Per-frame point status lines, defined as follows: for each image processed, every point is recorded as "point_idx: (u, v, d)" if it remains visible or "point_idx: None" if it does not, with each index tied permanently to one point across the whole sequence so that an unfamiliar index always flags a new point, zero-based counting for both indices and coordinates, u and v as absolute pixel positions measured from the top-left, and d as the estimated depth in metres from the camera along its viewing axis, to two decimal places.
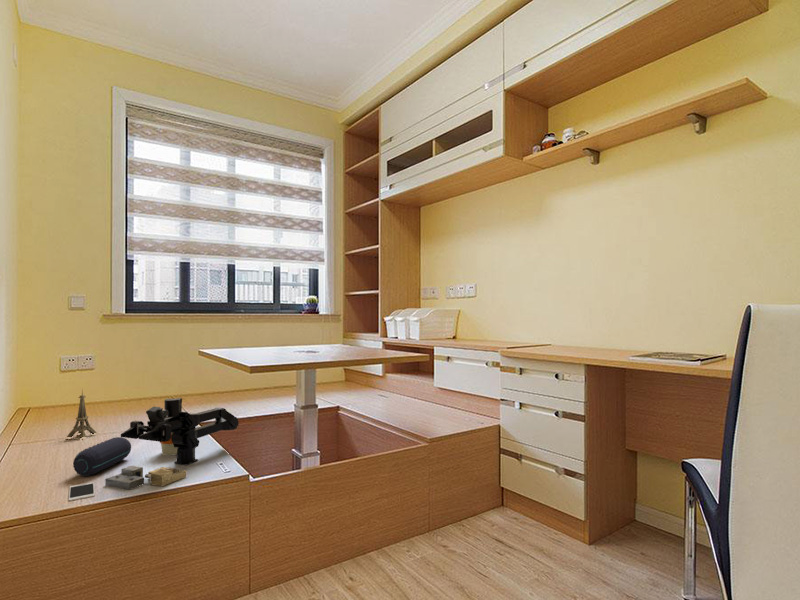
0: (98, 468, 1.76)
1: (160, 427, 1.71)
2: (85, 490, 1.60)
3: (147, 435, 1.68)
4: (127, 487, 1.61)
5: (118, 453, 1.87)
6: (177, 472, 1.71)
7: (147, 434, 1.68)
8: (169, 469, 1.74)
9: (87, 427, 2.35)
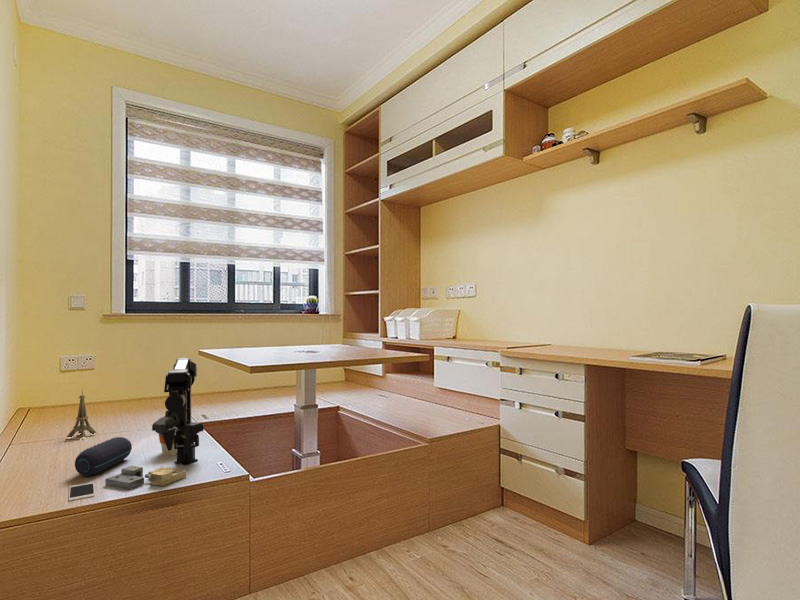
0: (100, 468, 1.76)
1: (186, 435, 1.59)
2: (85, 489, 1.60)
3: (187, 445, 1.61)
4: (127, 487, 1.61)
5: (120, 453, 1.87)
6: (177, 472, 1.71)
7: (186, 445, 1.61)
8: (169, 469, 1.74)
9: (87, 427, 2.35)
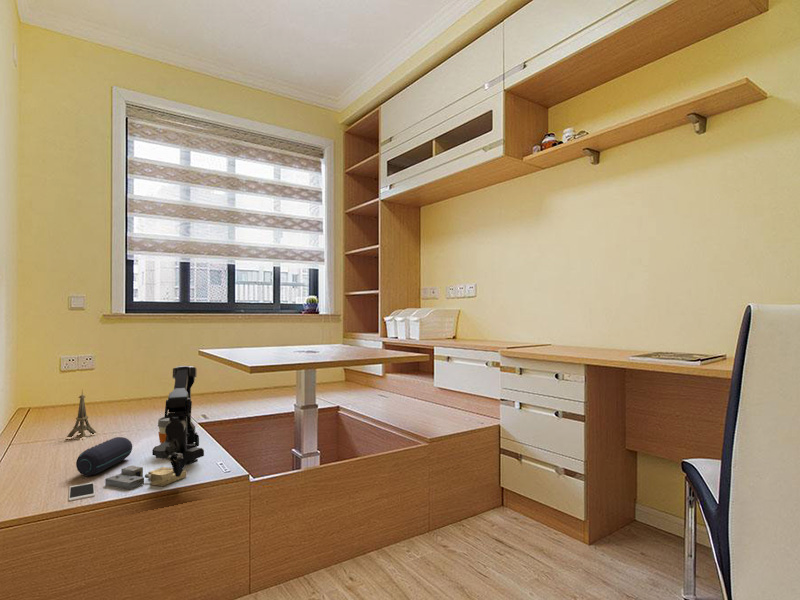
0: (101, 468, 1.76)
1: (179, 460, 1.60)
2: (85, 489, 1.60)
3: (180, 469, 1.63)
4: (127, 487, 1.61)
5: (121, 453, 1.87)
6: None
7: (179, 469, 1.62)
8: (169, 469, 1.74)
9: (87, 427, 2.35)
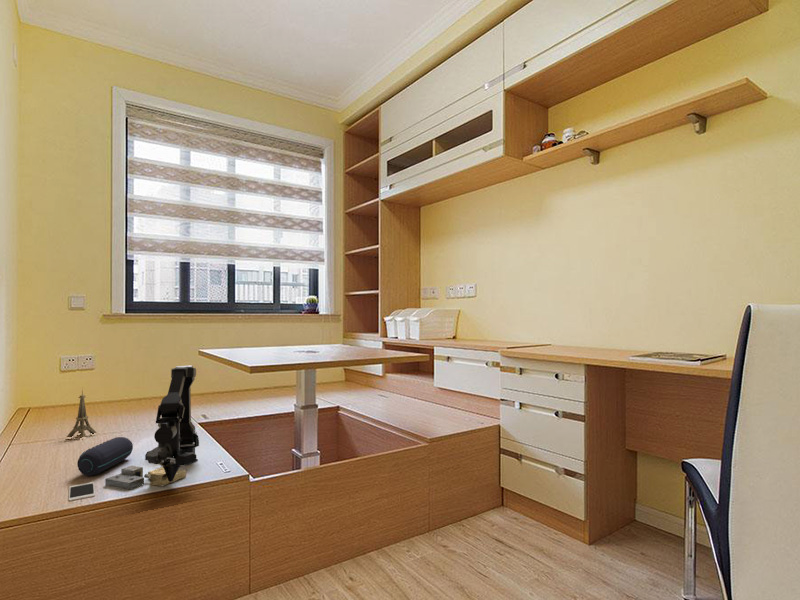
0: (103, 468, 1.76)
1: (171, 465, 1.61)
2: (85, 489, 1.60)
3: (172, 474, 1.64)
4: (127, 487, 1.61)
5: (121, 453, 1.87)
6: (177, 472, 1.71)
7: (171, 474, 1.64)
8: None
9: (87, 427, 2.35)
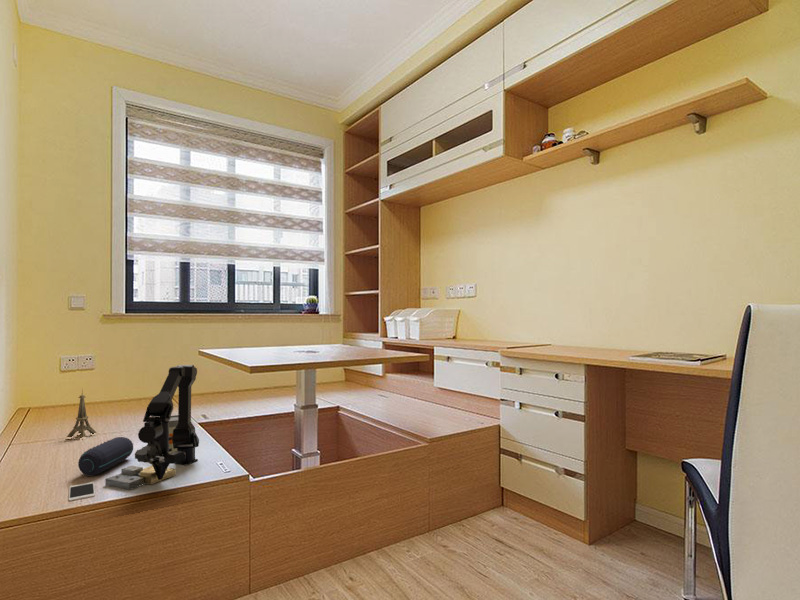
0: (103, 467, 1.76)
1: (161, 463, 1.63)
2: (85, 489, 1.60)
3: (162, 472, 1.66)
4: (127, 487, 1.61)
5: (122, 452, 1.87)
6: (166, 470, 1.73)
7: (161, 472, 1.66)
8: None
9: (87, 427, 2.35)
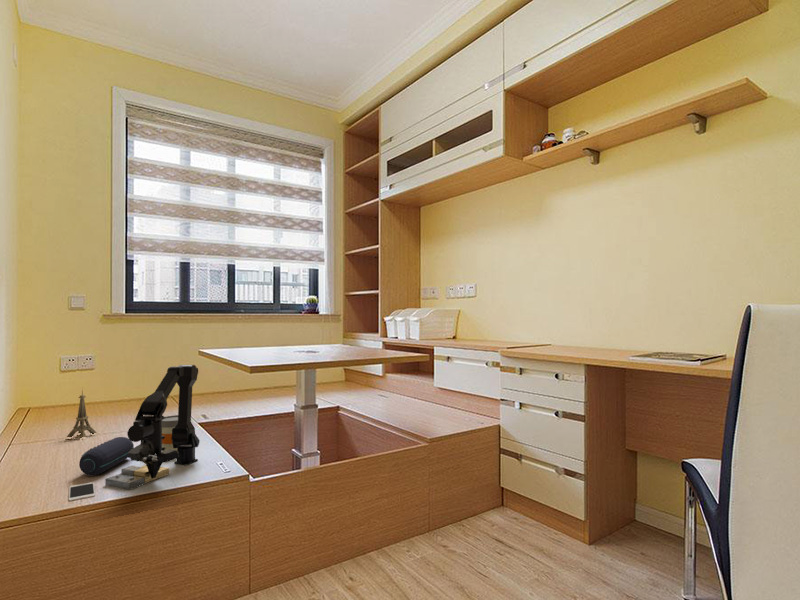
0: (105, 467, 1.76)
1: (153, 462, 1.65)
2: (85, 489, 1.60)
3: (155, 471, 1.67)
4: (127, 487, 1.61)
5: (123, 452, 1.88)
6: (160, 469, 1.74)
7: (154, 471, 1.67)
8: None
9: (87, 427, 2.35)
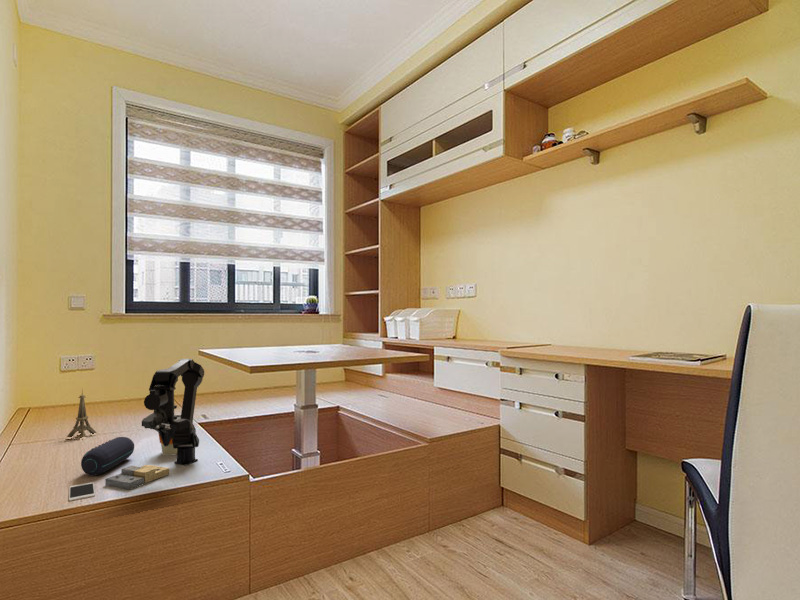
0: (106, 467, 1.76)
1: (166, 430, 1.70)
2: (85, 489, 1.60)
3: (167, 439, 1.72)
4: (127, 487, 1.61)
5: (124, 452, 1.88)
6: (160, 469, 1.74)
7: (167, 439, 1.72)
8: (153, 467, 1.77)
9: (87, 427, 2.35)
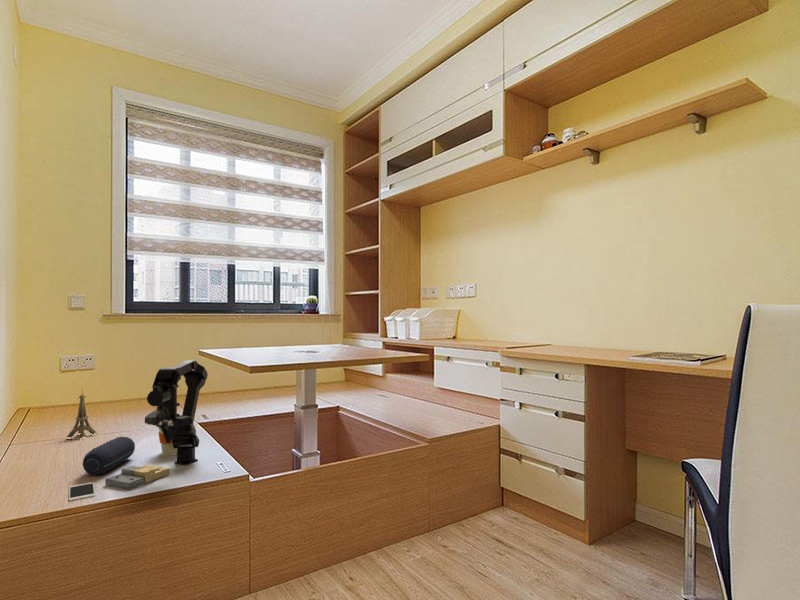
0: (108, 467, 1.77)
1: (169, 427, 1.73)
2: (85, 489, 1.60)
3: (170, 436, 1.75)
4: (127, 487, 1.61)
5: (125, 452, 1.88)
6: (160, 469, 1.74)
7: (169, 436, 1.75)
8: (153, 467, 1.77)
9: (87, 427, 2.35)
